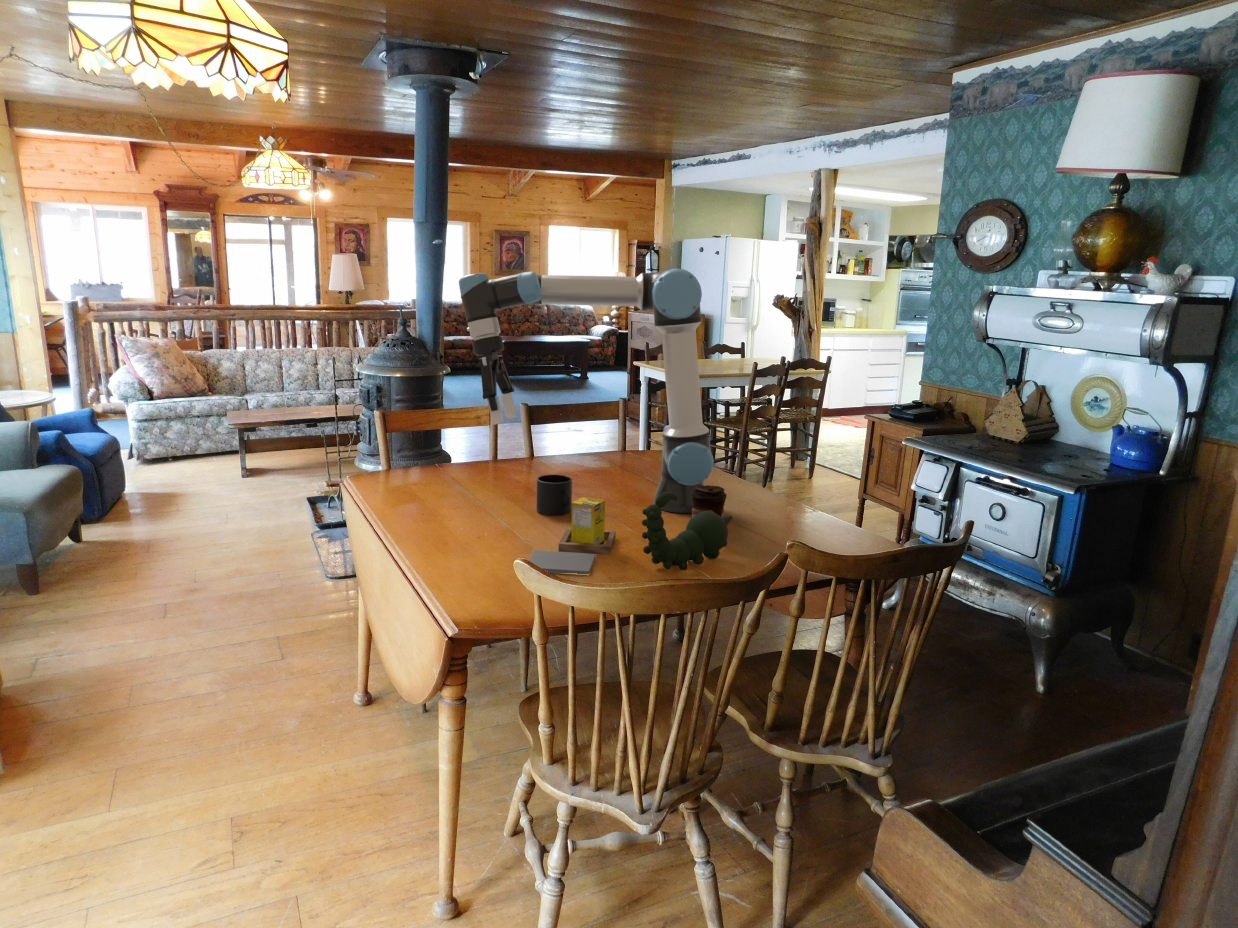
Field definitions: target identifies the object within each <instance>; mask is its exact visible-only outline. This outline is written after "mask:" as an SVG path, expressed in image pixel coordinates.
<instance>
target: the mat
mask: <svg viewBox="0 0 1238 928" xmlns="http://www.w3.org/2000/svg"><path fill="white" fill-rule="evenodd" d="M596 555H597V554H589V553H573V552H559V551H558V550H557V551H554V550H541V549H540V550H539V549H534V551H533V552H532V554H531V555H530V557H529V559H528V560H529V561H531V562H532V563H534V564H535V565H537V566H539V567H540V568H542V569H543V570H546V571H548V572H550V573H549V574H556V573H559V574H558V575H562V574H561V573H577V574H589V573H590V574H591V571H592V569H593V566H594V564H595V561H596V558H597V557H596ZM593 563H594V564H593ZM590 574H589V575H590Z"/></svg>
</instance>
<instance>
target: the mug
mask: <svg viewBox="0 0 1238 928" xmlns="http://www.w3.org/2000/svg"><path fill="white" fill-rule="evenodd" d="M572 497H573V478H572V477H570V476H568V475H564V474H545V475H544V474H543V475H540V476H538V477H537V478H536V511H537V513H538V514H540V515H543V516H550V517H551V516H553V517H555V516H557V517H558V516H565V515H568V514H570V513H572V502H573V498H572Z"/></svg>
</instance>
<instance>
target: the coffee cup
mask: <svg viewBox="0 0 1238 928" xmlns="http://www.w3.org/2000/svg"><path fill="white" fill-rule="evenodd" d="M726 499H727V493H725V488H724V487H722V486H717V485H704V486H696V487H695V490H694V491H693V492H692V500H693V506H692V513H691V514H692V515H691V516H692V517H694V516H695V515H697V514H698V513H701V512H713V513H715V514H717V515H719V516H720V517H724V511H725V509H724V508H725V504H726ZM692 517H691V518H692Z"/></svg>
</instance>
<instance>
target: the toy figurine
mask: <svg viewBox="0 0 1238 928" xmlns="http://www.w3.org/2000/svg"><path fill="white" fill-rule="evenodd" d="M672 499H674V500H675V501H677V500H678V497H677V496H676V494H674V493H673V492H663V493H661V494H660V495H658V496H657V498H656V500H655V503H656V504H655V505H654V503H653V504H650V505H648V506H647V507H646V508H644V509H642V514H643V515H644V516H645V517H646V519H642V521H641V525H642V526H643V527H646V531H643V532H642V534H641V537H642V538H643V539H644V540H646V539H647V540H648V545H645V546H643V548H642V549H643V551H642V552H643V553H644V554H646V555H649V554H651V555H650V556H652V557H651V562H652V564H654V565H659V564H660V563H662V567H663V569H664V570H670V569H672V567H674V566H675V567H678V569H679V570H681V571H686V570H687V569H688V568H689V565H688V564H689V563H688V562H689V561H692V562H693V563H694V565H702V564H703V563H704V561H705V558H707V559H708V558H709V559H708V560H712V559H713V560H714V559H716V558H718V557H719V556H720V550H721V549H722V548H724V547H726V546H727V545H728V536H729V530H728V525H729V523H730V522H731V520H732V519H733V517H732V516H733V515H732V516H731V515H727V516H723V517H720V516H719V515H717V514H715V513H713V512H701V513H698V514H697V515H695V516H694V517H691V518H690V519H689V520H688V522H687V525H686V527H685V530H682V531H681V532H680V533H678V534H677V536H676V537H674V538H671V539H669V538H668V537H667V531H666V529H665V527H664V526H665V521H664V518H663V517H662V514H663V510H661V507H664V506H665V505H666V504H667V503H668V502H669V501H670V500H672Z"/></svg>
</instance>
